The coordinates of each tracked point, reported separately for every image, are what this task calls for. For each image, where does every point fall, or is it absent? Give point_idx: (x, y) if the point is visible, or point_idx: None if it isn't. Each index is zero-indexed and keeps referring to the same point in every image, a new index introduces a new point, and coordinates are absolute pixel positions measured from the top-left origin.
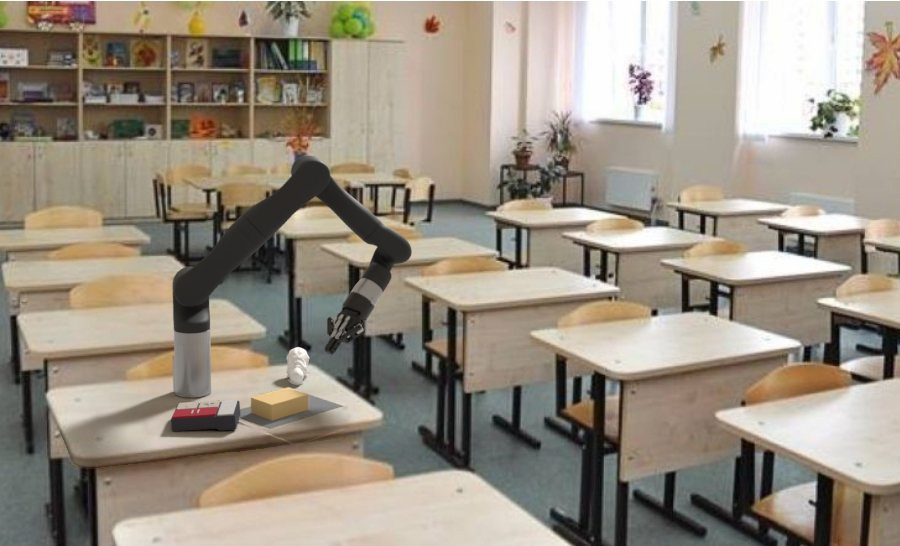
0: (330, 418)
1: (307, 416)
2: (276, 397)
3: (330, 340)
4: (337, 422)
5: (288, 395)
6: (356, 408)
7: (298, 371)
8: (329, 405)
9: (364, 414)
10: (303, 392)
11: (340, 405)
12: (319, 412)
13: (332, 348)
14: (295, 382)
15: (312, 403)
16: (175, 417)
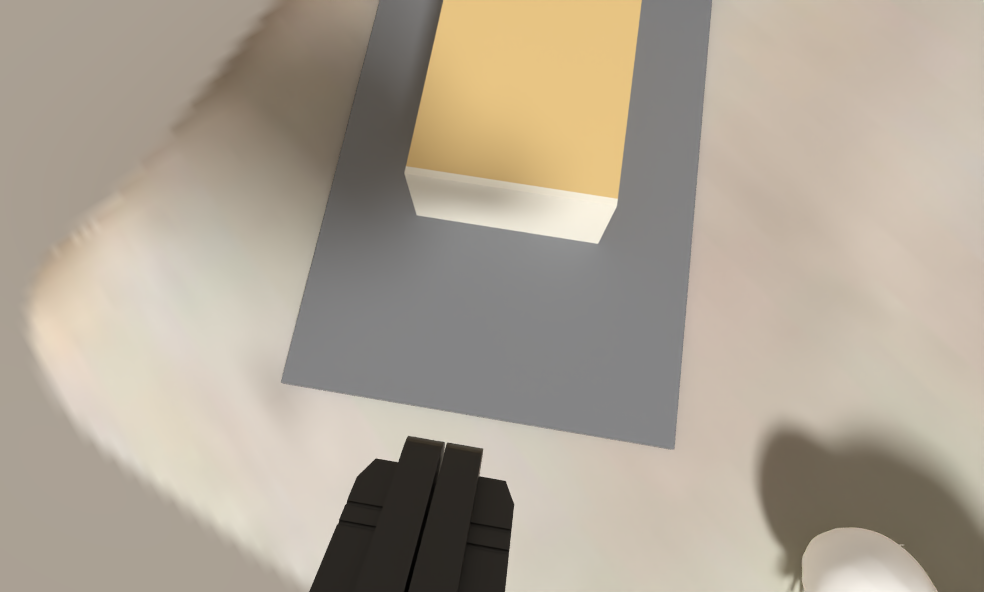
0: (247, 193)
1: (353, 126)
2: (530, 21)
3: (452, 577)
4: (180, 166)
5: (497, 84)
6: (205, 418)
7: (866, 587)
8: (358, 338)
9: (108, 356)
10: (458, 180)
11: (301, 379)
12: (336, 209)
13: (361, 477)
14: (816, 536)
15: (467, 308)
16: None
